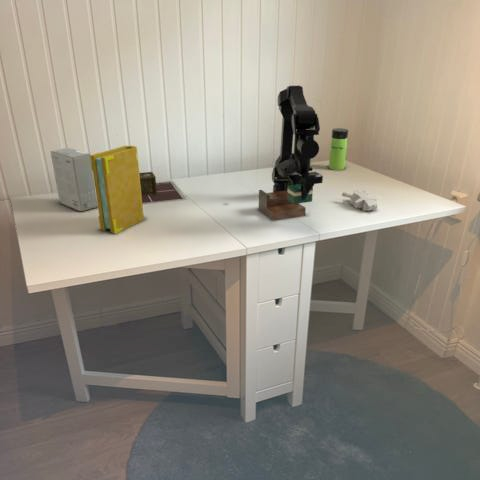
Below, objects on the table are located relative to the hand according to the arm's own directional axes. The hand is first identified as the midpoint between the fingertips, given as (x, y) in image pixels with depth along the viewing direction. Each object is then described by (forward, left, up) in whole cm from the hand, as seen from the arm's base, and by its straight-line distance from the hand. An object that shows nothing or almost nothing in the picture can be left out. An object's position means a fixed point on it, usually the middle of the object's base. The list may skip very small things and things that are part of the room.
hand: (299, 197), depth 177 cm
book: (+56, -23, -10) cm, 61 cm away
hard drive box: (+68, -50, -10) cm, 85 cm away
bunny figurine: (-31, -7, -10) cm, 33 cm away
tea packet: (0, 0, -1) cm, 1 cm away
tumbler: (-52, -57, -10) cm, 78 cm away
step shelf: (0, -13, -9) cm, 16 cm away
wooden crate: (+40, -55, -10) cm, 69 cm away
